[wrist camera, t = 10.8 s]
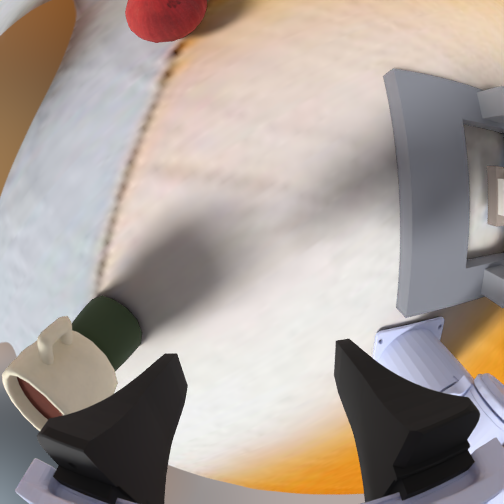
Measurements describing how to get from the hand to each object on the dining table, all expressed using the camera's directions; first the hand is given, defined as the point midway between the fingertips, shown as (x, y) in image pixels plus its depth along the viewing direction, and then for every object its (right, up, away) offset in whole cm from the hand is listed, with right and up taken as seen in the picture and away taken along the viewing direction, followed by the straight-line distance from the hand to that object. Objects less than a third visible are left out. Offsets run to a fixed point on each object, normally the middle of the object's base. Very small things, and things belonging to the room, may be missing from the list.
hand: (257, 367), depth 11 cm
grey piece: (+22, +11, +7) cm, 26 cm away
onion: (-6, +23, +5) cm, 25 cm away
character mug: (-13, -2, +12) cm, 18 cm away
